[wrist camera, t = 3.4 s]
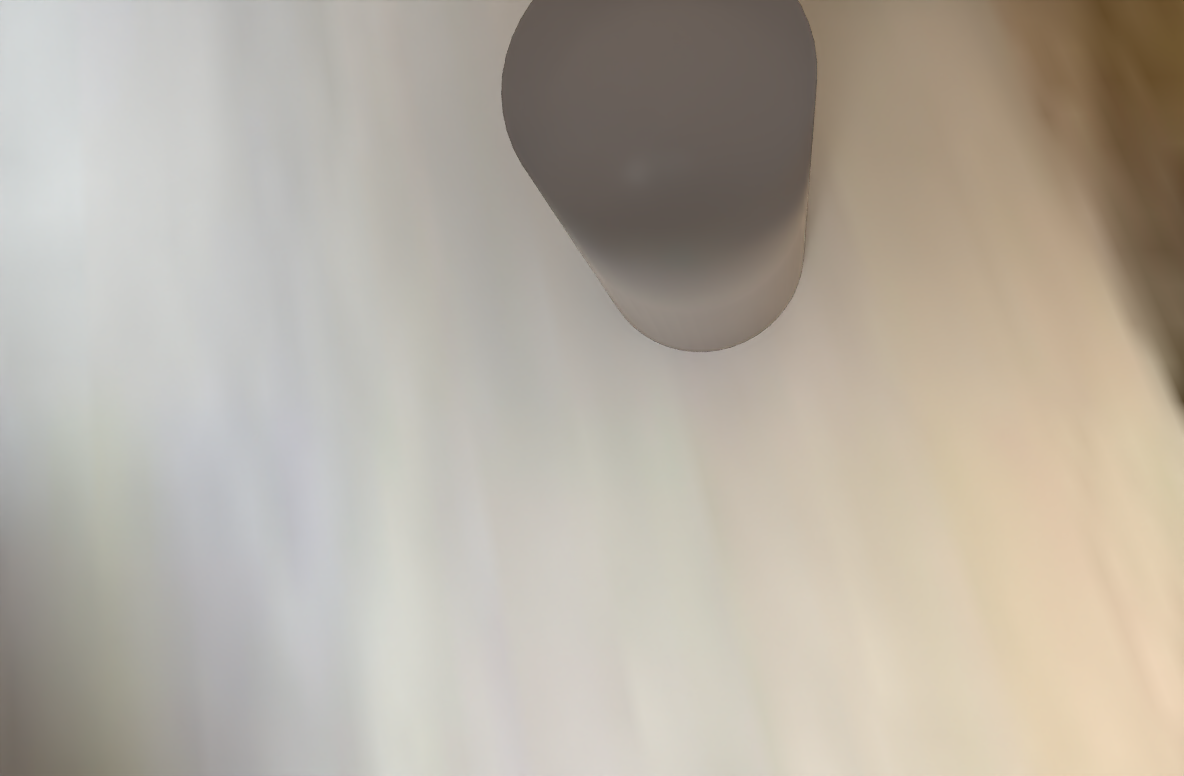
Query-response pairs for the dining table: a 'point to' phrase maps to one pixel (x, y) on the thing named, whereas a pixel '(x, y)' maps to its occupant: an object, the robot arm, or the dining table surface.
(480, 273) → the dining table surface
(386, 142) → the dining table surface
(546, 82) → the grey rounded cylinder
